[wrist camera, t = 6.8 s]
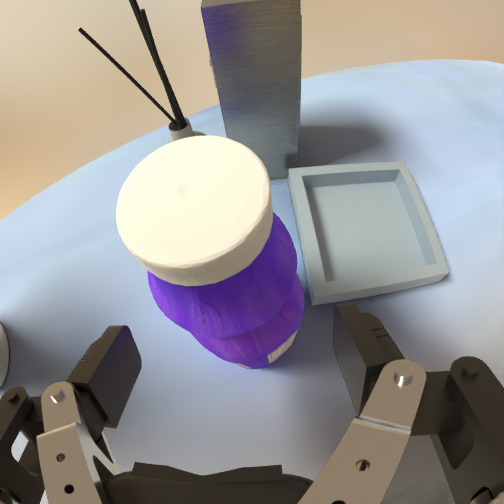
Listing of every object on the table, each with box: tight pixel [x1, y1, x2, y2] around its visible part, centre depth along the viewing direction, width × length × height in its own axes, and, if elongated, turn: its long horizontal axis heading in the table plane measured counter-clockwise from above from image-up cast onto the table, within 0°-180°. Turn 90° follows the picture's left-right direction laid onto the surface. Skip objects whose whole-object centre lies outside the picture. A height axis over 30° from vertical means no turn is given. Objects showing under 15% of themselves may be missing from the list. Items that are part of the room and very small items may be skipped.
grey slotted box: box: [201, 0, 302, 180], centre depth 22 cm, size 7×8×18 cm
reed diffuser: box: [79, 0, 207, 144], centre depth 21 cm, size 10×7×20 cm
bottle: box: [116, 136, 305, 369], centre depth 15 cm, size 7×6×17 cm
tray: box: [288, 162, 449, 306], centre depth 24 cm, size 12×12×2 cm
